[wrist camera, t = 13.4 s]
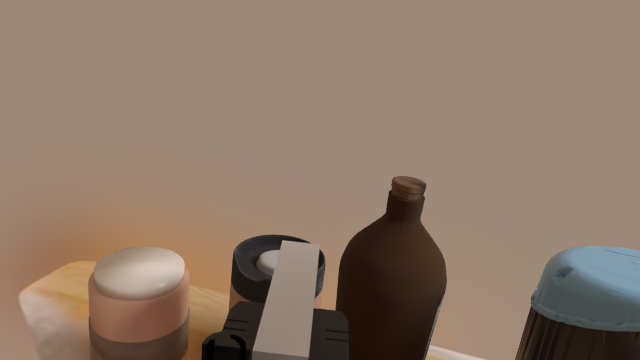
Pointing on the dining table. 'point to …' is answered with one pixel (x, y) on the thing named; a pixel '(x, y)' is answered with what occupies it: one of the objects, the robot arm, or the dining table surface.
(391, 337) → the olive oil
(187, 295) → the terracotta canister
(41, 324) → the dining table surface
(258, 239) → the travel mug
